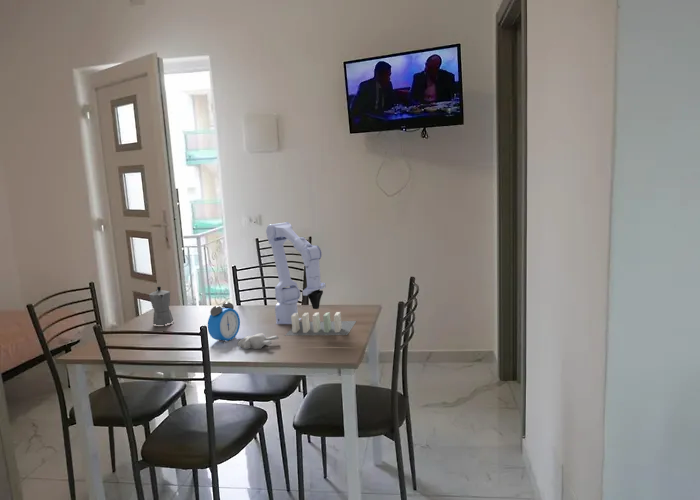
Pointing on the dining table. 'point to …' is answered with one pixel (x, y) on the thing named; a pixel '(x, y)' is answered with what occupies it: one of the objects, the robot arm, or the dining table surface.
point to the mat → (344, 331)
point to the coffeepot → (161, 306)
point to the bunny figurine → (256, 341)
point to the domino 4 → (327, 322)
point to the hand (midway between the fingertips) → (315, 308)
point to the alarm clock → (223, 322)
